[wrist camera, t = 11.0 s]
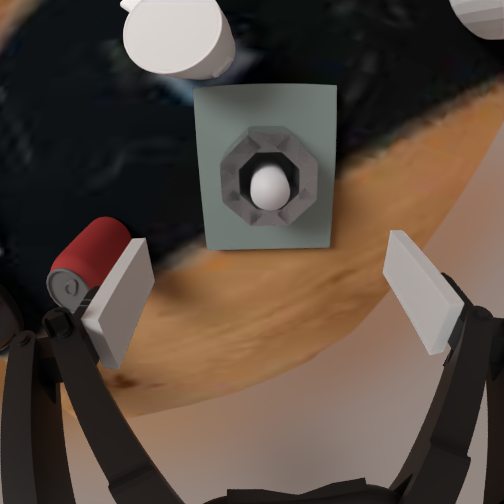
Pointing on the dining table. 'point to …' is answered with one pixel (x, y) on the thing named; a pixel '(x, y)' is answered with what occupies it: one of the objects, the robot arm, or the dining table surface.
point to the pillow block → (266, 160)
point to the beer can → (87, 261)
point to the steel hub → (239, 187)
